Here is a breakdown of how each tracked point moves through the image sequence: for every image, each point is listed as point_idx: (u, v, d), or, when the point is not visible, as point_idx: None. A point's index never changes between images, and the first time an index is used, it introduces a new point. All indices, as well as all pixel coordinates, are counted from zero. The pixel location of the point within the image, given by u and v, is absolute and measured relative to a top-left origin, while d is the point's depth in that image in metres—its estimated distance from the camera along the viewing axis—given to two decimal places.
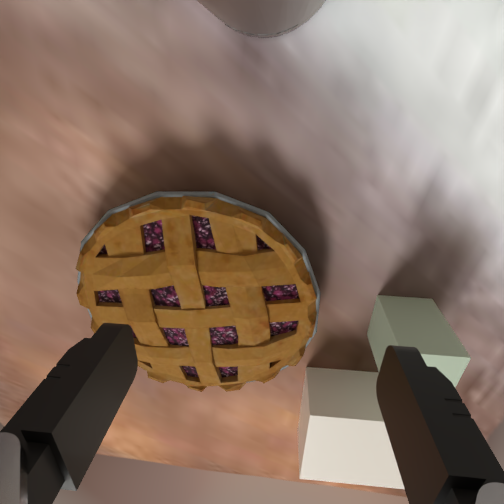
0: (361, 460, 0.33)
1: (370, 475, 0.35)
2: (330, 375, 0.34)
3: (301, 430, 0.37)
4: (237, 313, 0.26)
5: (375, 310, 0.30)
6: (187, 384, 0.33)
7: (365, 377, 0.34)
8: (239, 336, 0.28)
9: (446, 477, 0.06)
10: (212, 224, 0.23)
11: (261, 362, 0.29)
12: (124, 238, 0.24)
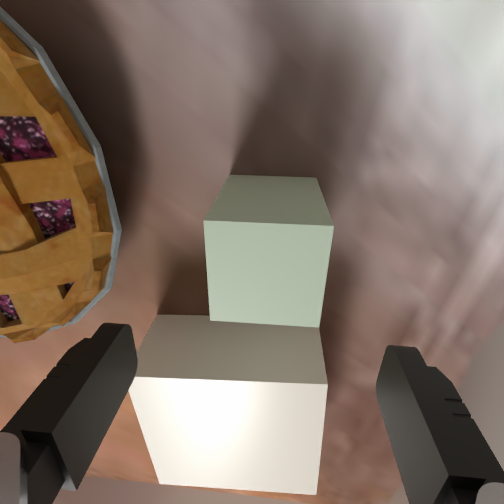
0: (233, 451, 0.22)
1: (255, 475, 0.23)
2: (187, 323, 0.23)
3: None
4: None
5: None
6: None
7: (238, 323, 0.23)
8: None
9: (446, 477, 0.06)
10: None
11: (37, 284, 0.18)
12: None
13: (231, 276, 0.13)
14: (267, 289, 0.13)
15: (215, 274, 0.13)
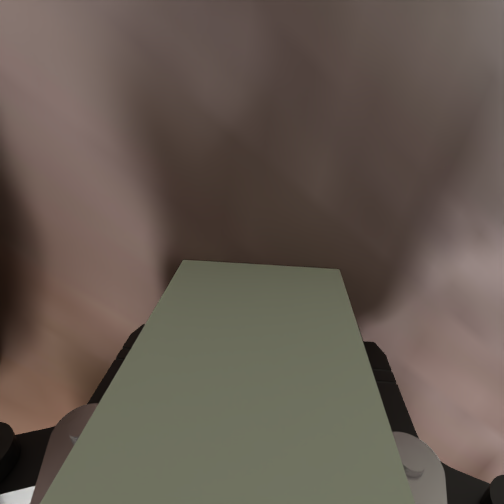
0: None
1: None
2: None
3: None
4: None
5: None
6: None
7: None
8: None
9: None
10: None
11: None
12: None
13: None
14: None
15: None
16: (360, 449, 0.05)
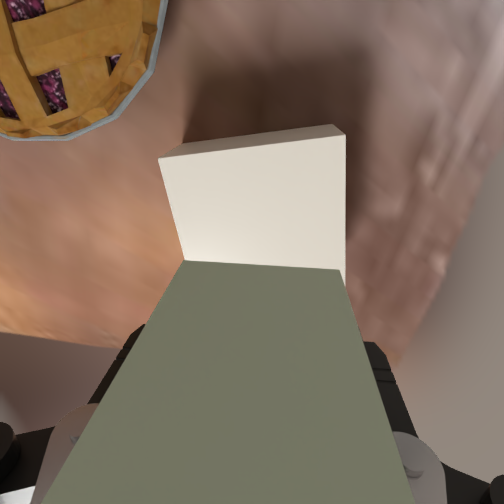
0: (263, 246, 0.23)
1: None
2: (210, 141, 0.24)
3: None
4: None
5: None
6: (3, 127, 0.22)
7: (258, 134, 0.24)
8: None
9: None
10: None
11: (88, 50, 0.19)
12: None
13: None
14: None
15: None
16: (360, 450, 0.05)
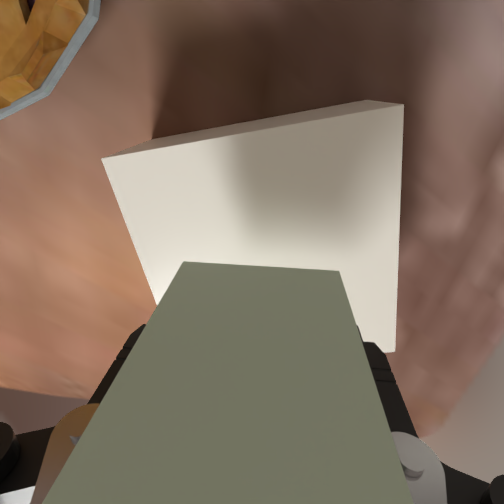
0: None
1: None
2: (189, 133, 0.17)
3: None
4: None
5: None
6: None
7: (257, 120, 0.16)
8: None
9: None
10: None
11: None
12: None
13: None
14: None
15: None
16: (360, 452, 0.05)
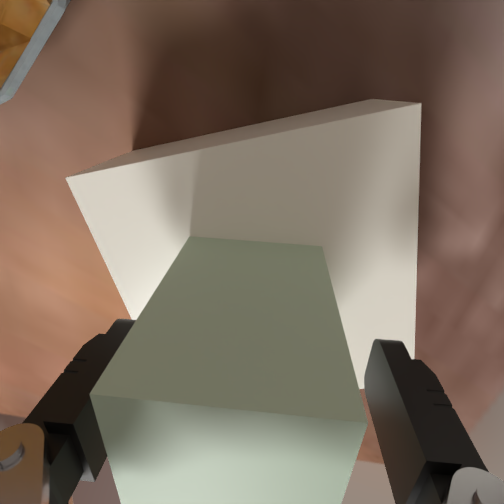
0: None
1: None
2: (173, 143, 0.15)
3: None
4: None
5: None
6: None
7: (249, 126, 0.15)
8: None
9: (424, 463, 0.06)
10: None
11: None
12: None
13: (158, 477, 0.07)
14: (229, 499, 0.07)
15: (127, 472, 0.07)
16: (324, 361, 0.07)
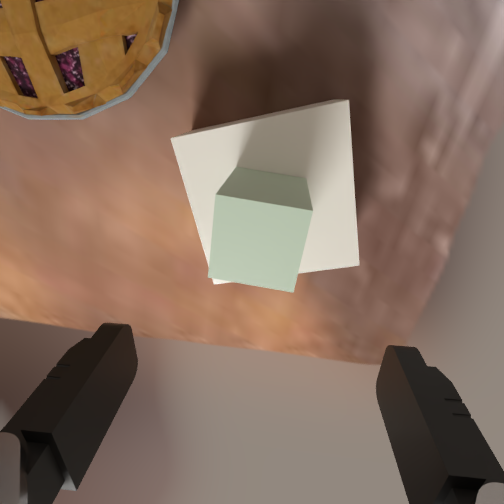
0: None
1: None
2: None
3: None
4: None
5: None
6: (21, 105, 0.23)
7: None
8: None
9: (446, 477, 0.06)
10: None
11: (106, 28, 0.20)
12: None
13: (230, 242, 0.17)
14: (257, 256, 0.17)
15: (218, 239, 0.17)
16: (300, 201, 0.17)
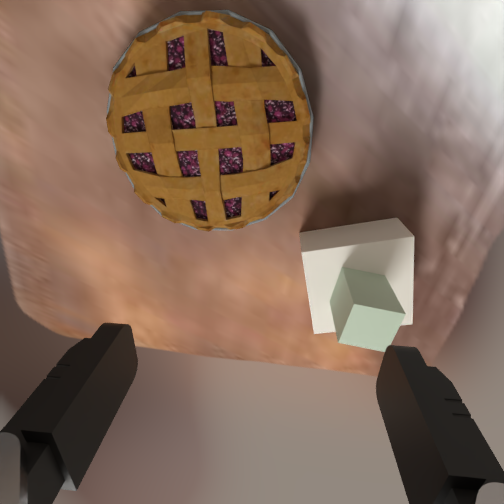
0: None
1: None
2: (320, 231, 0.39)
3: None
4: (243, 130, 0.31)
5: (339, 279, 0.36)
6: (196, 224, 0.37)
7: (350, 227, 0.39)
8: (244, 159, 0.33)
9: (446, 477, 0.06)
10: (225, 37, 0.28)
11: (262, 190, 0.34)
12: (151, 55, 0.29)
13: (356, 326, 0.31)
14: (369, 333, 0.31)
15: (349, 324, 0.31)
16: (395, 304, 0.31)
